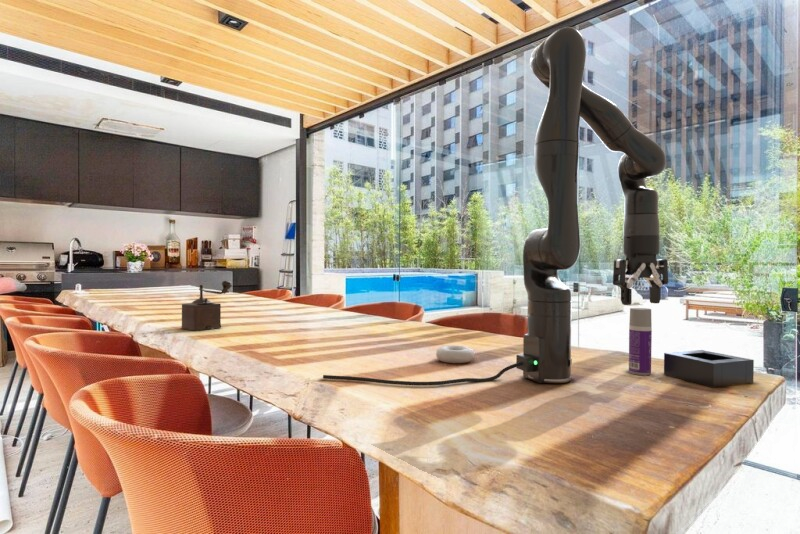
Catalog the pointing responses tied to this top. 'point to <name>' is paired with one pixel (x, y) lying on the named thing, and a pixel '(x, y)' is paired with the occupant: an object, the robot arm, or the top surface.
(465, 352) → the donut
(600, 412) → the top surface
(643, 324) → the container
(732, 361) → the stand
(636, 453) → the top surface
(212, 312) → the coffee grinder
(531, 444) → the top surface
